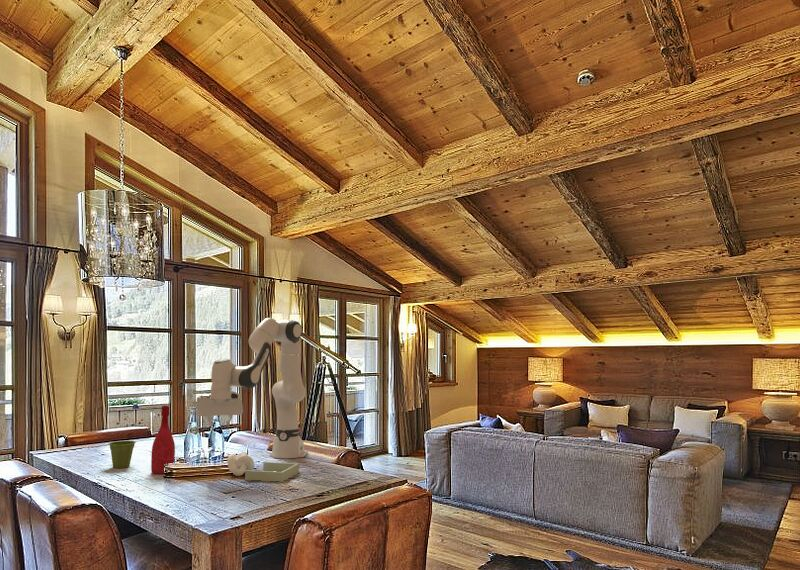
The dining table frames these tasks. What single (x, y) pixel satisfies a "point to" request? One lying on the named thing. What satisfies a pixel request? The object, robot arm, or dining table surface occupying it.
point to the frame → (268, 475)
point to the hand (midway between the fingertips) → (219, 425)
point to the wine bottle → (162, 445)
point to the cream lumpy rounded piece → (240, 463)
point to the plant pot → (121, 453)
